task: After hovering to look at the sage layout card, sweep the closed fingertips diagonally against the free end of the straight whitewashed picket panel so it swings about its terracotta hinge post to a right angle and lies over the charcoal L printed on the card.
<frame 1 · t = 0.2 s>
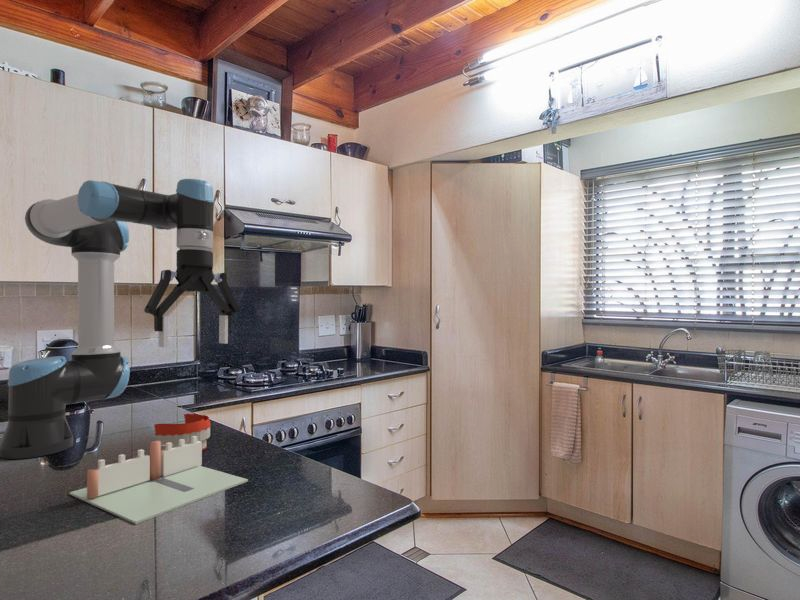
hand: (194, 345, 105), 28 cm above the countertop, fingers open, 13 cm apart
layout card: (161, 487, 95), on the countertop
swing panel: (119, 471, 93), point 4 cm above the countertop, hinge at 0.0°
fixed fence: (155, 480, 99), resting on layout card
toy: (188, 452, 119), on the countertop
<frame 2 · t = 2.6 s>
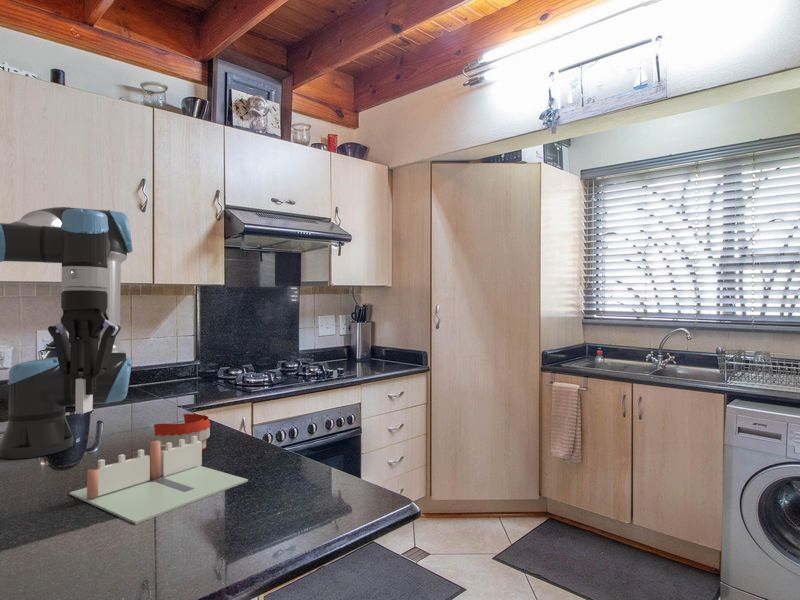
hand: (84, 411, 91), 16 cm above the countertop, fingers closed
nothing on the countertop moved.
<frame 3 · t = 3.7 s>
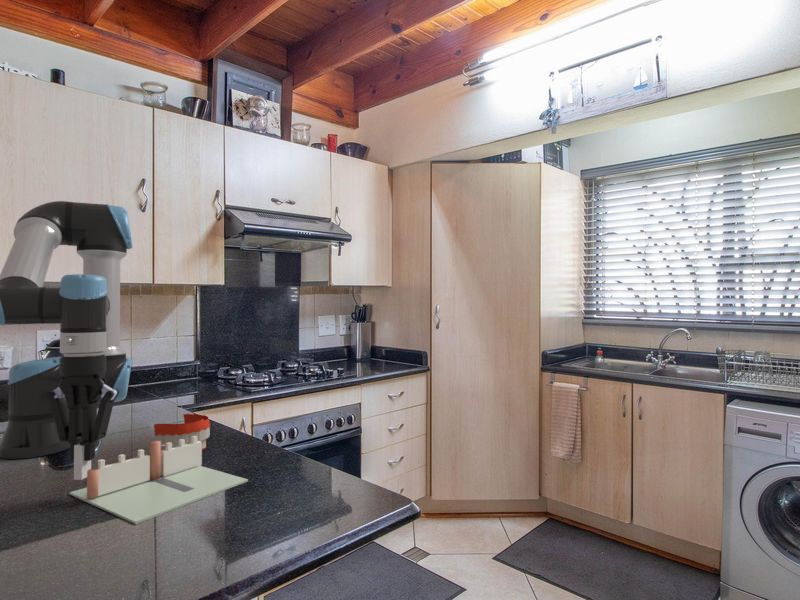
hand: (82, 477, 91), 4 cm above the countertop, fingers closed
nothing on the countertop moved.
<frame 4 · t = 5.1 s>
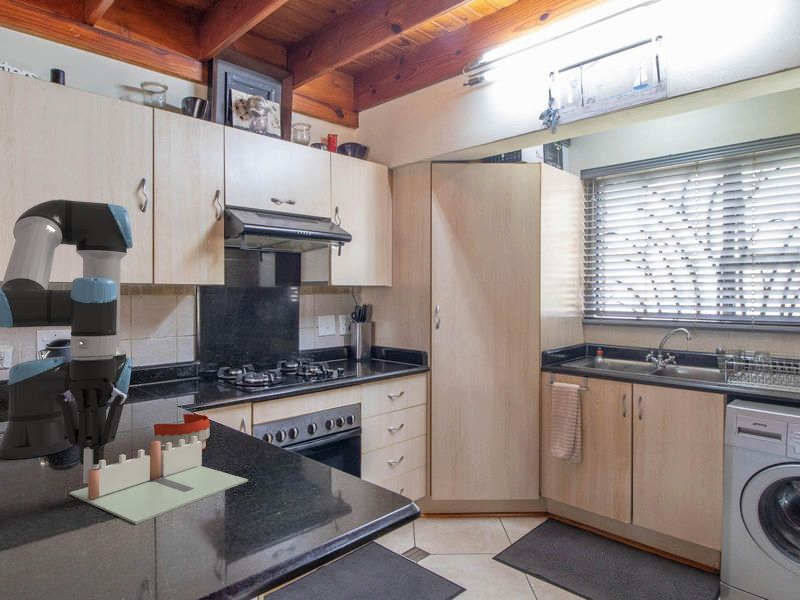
hand: (91, 480, 90), 3 cm above the countertop, fingers closed
swing panel: (120, 472, 92), point 4 cm above the countertop, hinge at 1.8°, touching gripper
everything else where it was.
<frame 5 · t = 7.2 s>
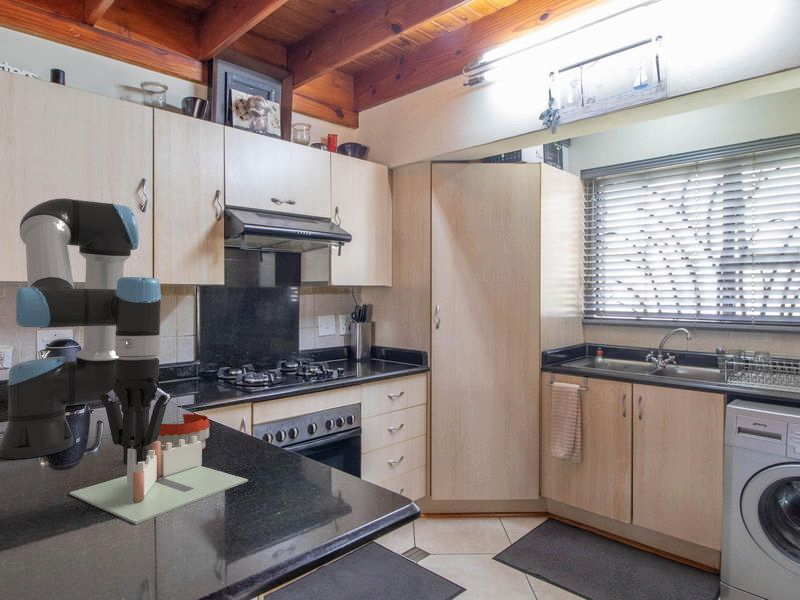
hand: (134, 481, 90), 3 cm above the countertop, fingers closed
swing panel: (145, 473, 92), point 4 cm above the countertop, hinge at 47.2°, touching gripper
everything else where it was.
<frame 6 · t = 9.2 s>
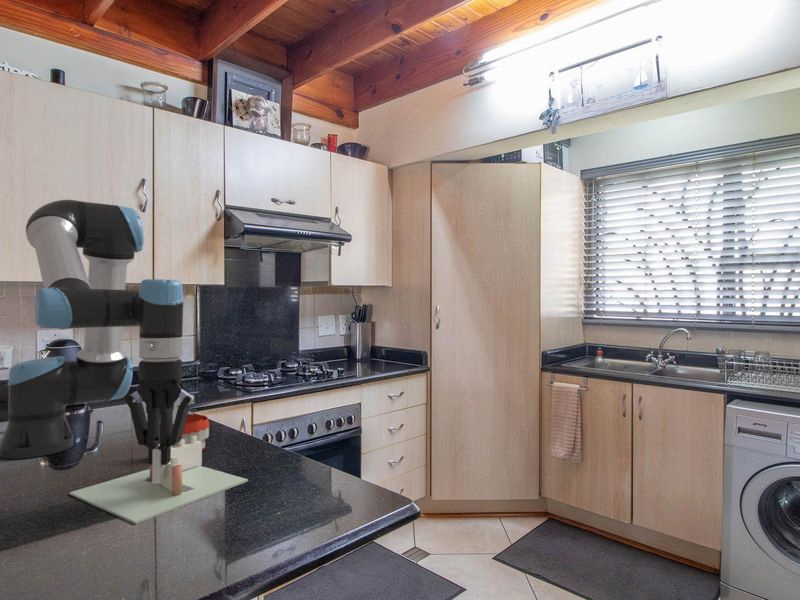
hand: (159, 480, 91), 3 cm above the countertop, fingers closed
swing panel: (167, 469, 94), point 4 cm above the countertop, hinge at 78.3°, touching gripper
everything else where it was.
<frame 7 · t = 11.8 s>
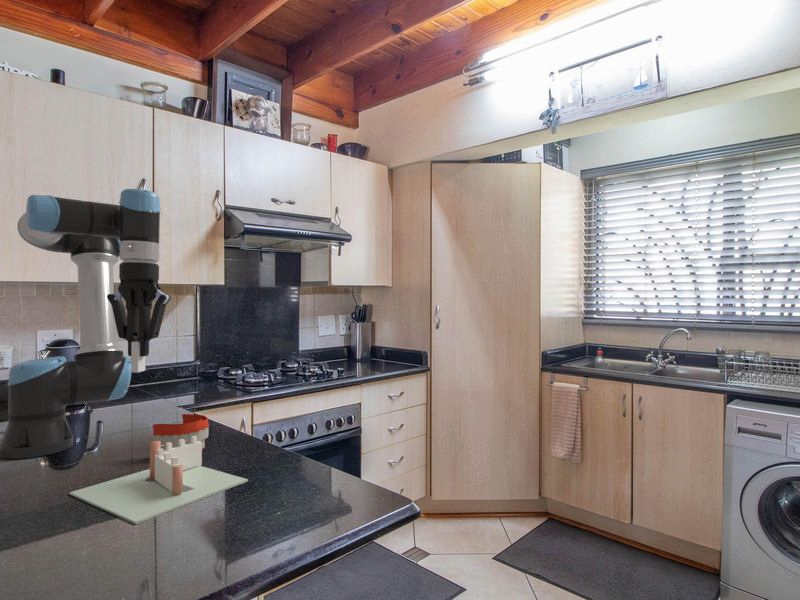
hand: (138, 371, 102), 22 cm above the countertop, fingers closed
swing panel: (168, 469, 94), point 4 cm above the countertop, hinge at 78.7°
everything else where it was.
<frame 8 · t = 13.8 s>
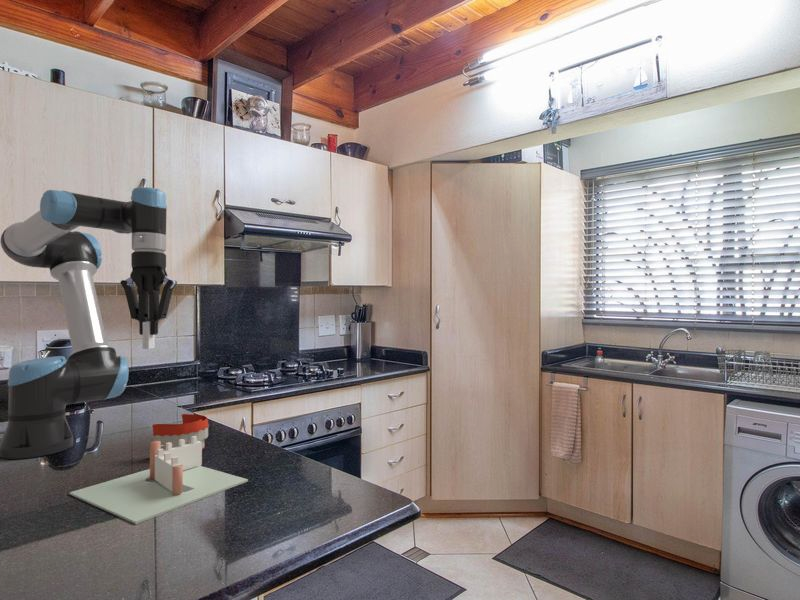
hand: (148, 348, 115), 26 cm above the countertop, fingers closed
nothing on the countertop moved.
at the end: swing panel at +79° (first picture: +0°) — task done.
